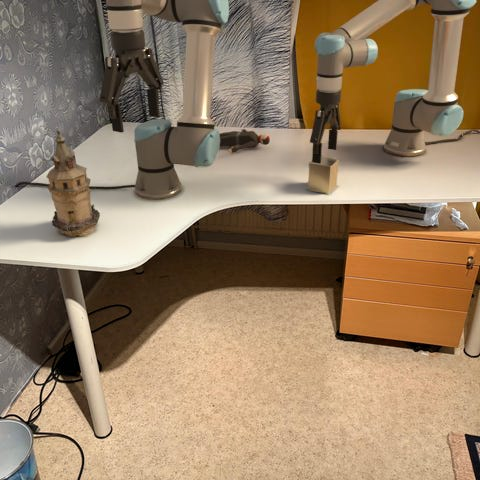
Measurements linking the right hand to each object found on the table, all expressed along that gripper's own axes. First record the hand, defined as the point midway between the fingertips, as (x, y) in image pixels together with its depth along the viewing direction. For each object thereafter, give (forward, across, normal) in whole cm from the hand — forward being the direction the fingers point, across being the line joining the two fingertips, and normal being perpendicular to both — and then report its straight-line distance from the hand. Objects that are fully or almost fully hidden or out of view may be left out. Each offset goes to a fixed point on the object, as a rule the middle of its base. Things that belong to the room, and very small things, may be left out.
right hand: (324, 155), depth 174 cm
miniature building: (+11, +61, -51) cm, 80 cm away
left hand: (-24, +59, -26) cm, 69 cm away
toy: (+11, -21, -47) cm, 52 cm away
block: (+11, +1, 0) cm, 11 cm away
